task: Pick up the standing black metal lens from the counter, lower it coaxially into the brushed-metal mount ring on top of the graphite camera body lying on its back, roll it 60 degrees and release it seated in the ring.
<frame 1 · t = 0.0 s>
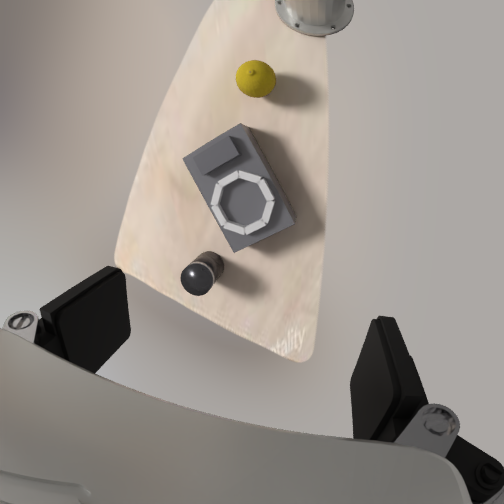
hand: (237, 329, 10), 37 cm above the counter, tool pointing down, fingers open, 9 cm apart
lens: (210, 265, 52), on the counter
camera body: (244, 186, 46), on the counter
lemon: (261, 85, 41), on the counter
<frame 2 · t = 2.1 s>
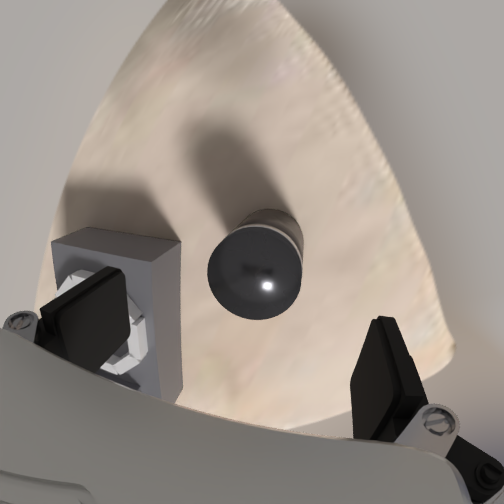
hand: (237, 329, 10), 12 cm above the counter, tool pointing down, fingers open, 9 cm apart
lens: (269, 242, 22), on the counter
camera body: (133, 314, 27), on the counter
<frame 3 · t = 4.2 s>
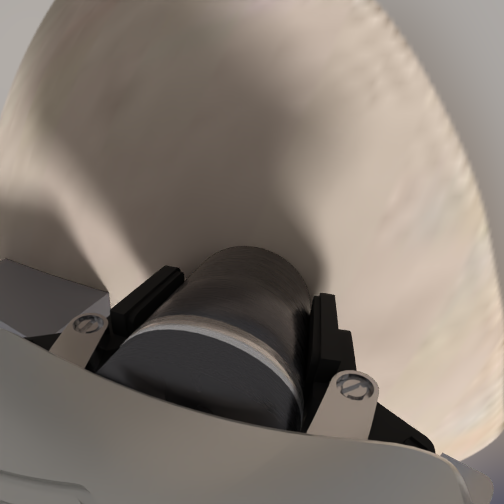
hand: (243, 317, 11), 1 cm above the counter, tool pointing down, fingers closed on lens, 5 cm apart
lens: (248, 305, 12), on the counter, touching gripper
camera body: (72, 375, 17), on the counter
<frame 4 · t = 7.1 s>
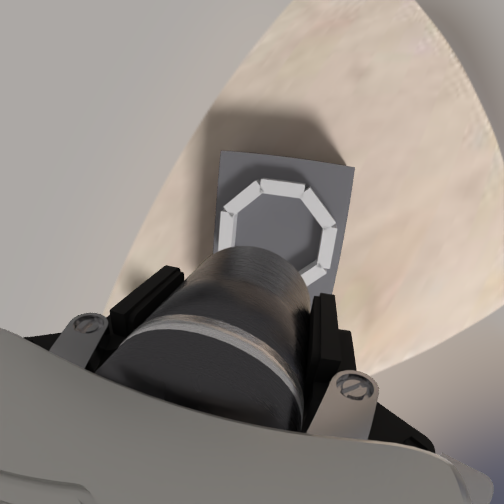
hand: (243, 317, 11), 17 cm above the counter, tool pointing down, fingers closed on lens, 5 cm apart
lens: (248, 305, 12), point 17 cm above the counter, touching gripper
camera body: (280, 242, 28), on the counter
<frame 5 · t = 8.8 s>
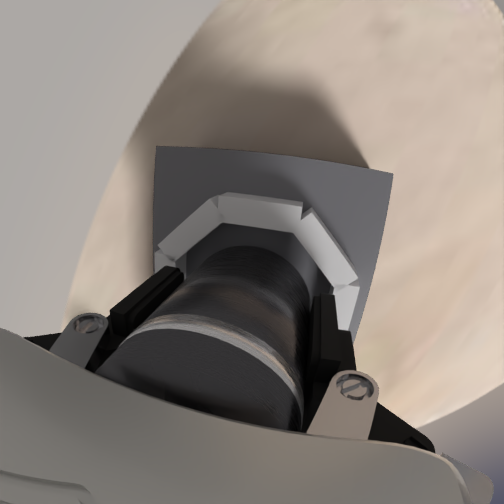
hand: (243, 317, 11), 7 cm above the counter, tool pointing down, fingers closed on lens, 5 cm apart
lens: (248, 304, 12), point 6 cm above the counter, touching gripper
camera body: (266, 286, 19), on the counter
when the fingers open (7 cm above the counter, at t = 10.3 s): lens drops 1 cm, resting on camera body.
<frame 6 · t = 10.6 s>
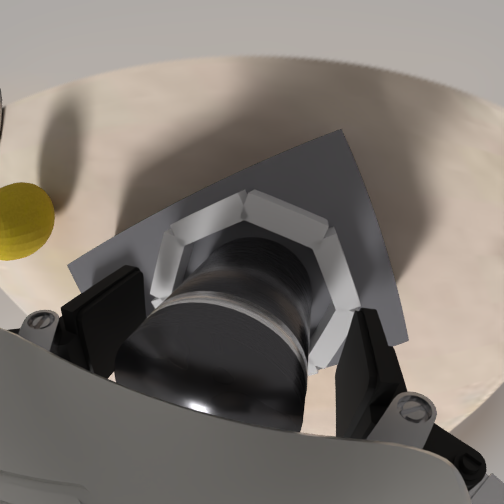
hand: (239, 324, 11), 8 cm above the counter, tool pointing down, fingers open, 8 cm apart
lens: (254, 292, 13), point 5 cm above the counter, touching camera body
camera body: (240, 267, 18), on the counter
lemon: (53, 208, 20), on the counter
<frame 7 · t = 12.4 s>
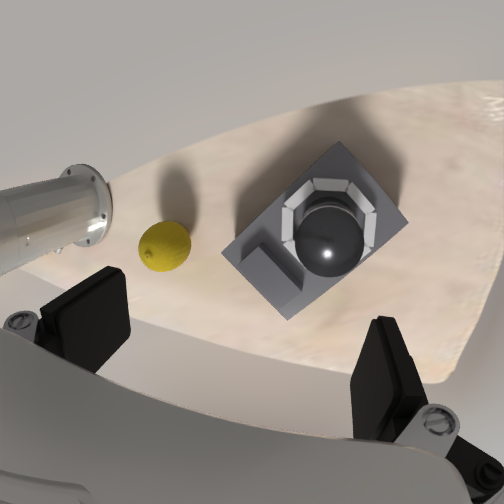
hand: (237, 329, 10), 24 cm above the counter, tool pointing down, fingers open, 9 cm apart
lens: (328, 223, 27), point 5 cm above the counter, touching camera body
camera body: (314, 226, 32), on the counter
lemon: (181, 236, 37), on the counter
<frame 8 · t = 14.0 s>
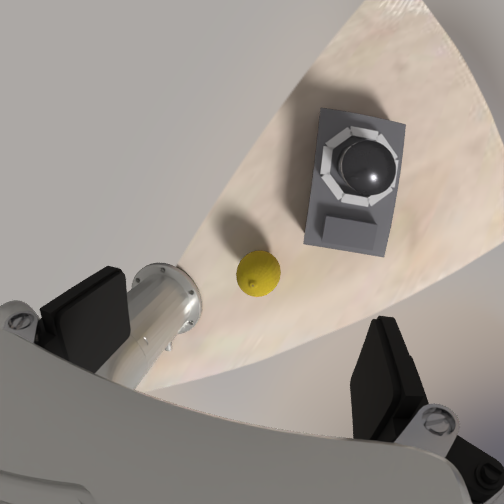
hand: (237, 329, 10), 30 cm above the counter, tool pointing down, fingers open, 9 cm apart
lens: (358, 165, 31), point 5 cm above the counter, touching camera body
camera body: (350, 180, 36), on the counter
lemon: (263, 261, 42), on the counter
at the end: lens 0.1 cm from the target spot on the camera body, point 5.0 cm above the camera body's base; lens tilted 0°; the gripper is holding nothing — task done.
